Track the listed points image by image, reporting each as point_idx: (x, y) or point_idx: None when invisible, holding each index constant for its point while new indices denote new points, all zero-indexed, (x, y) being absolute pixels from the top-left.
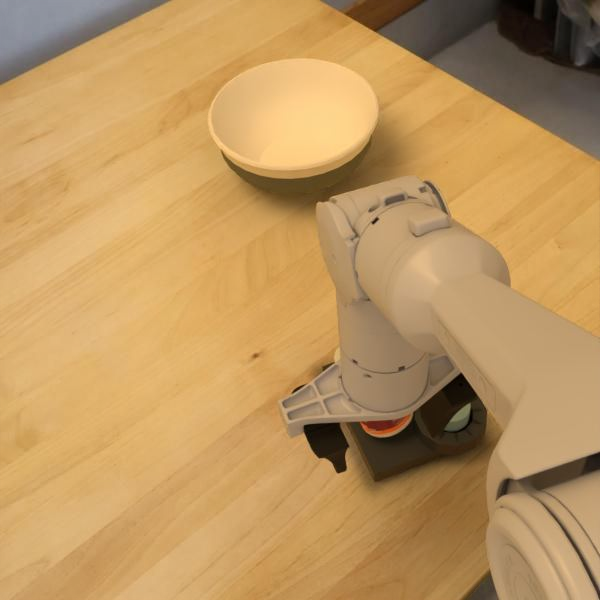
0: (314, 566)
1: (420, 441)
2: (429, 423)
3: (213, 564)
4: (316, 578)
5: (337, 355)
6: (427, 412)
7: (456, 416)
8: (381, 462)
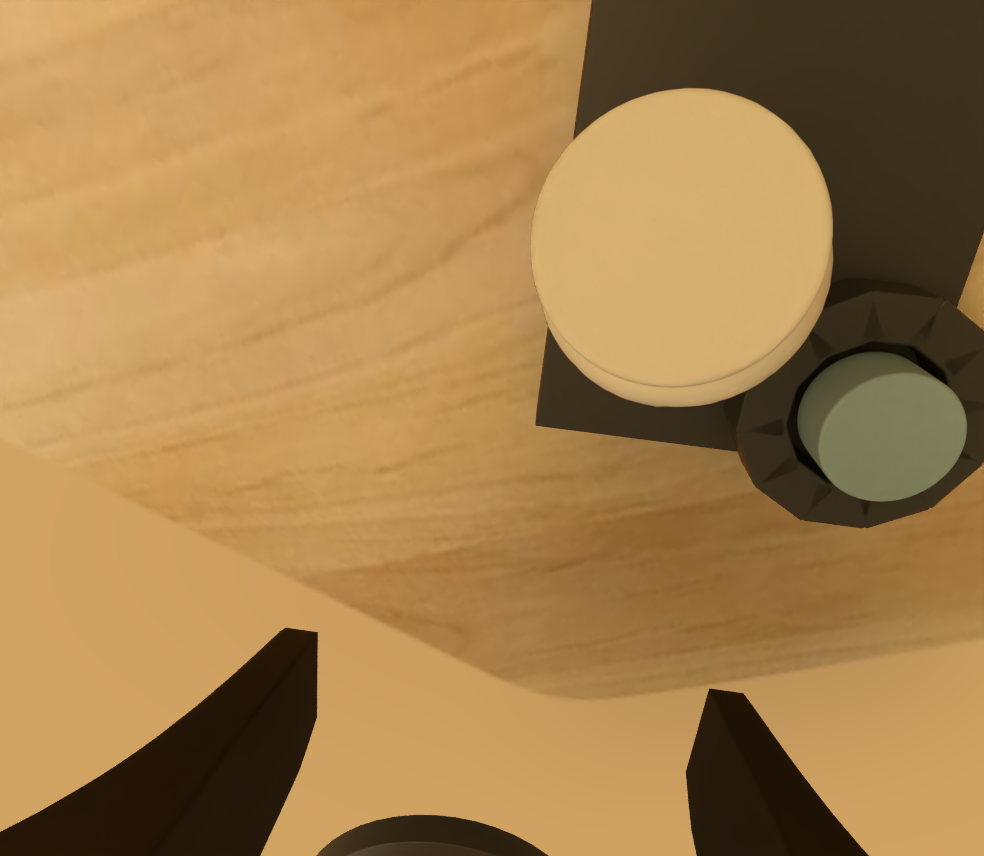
0: (294, 518)
1: (723, 402)
2: (705, 798)
3: (59, 396)
4: (288, 543)
5: (570, 179)
6: (724, 818)
7: (870, 486)
8: (575, 404)
